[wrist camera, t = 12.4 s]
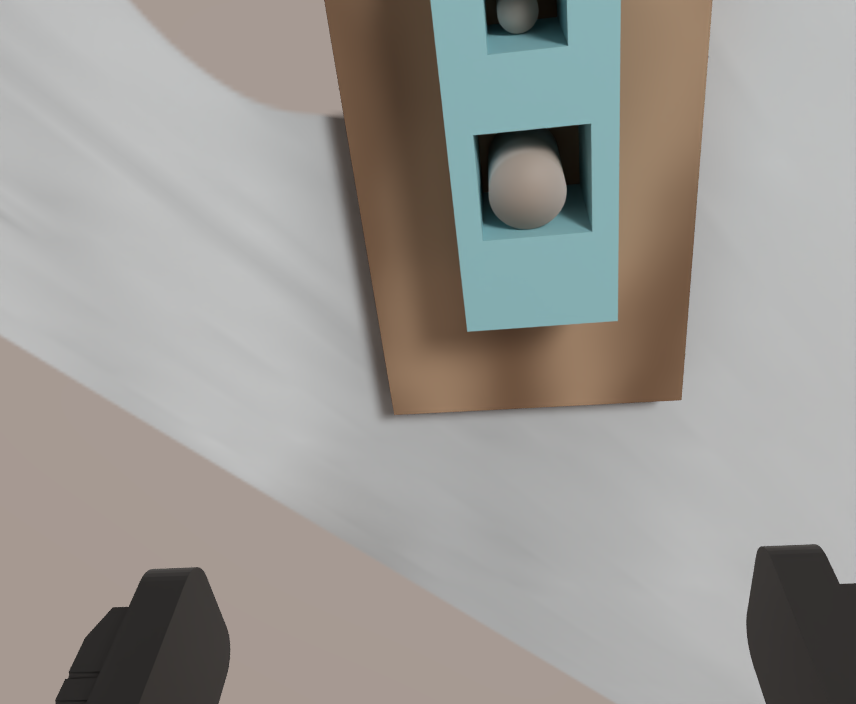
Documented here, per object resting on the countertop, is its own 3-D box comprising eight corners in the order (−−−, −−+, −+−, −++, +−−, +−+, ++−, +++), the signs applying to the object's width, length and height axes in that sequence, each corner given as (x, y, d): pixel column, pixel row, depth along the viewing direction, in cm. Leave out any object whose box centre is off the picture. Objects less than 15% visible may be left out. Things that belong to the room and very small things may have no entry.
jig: (397, 394, 35) (385, 469, 31) (299, -206, 23) (259, -213, 19) (674, 379, 34) (700, 455, 30) (719, -265, 22) (773, -287, 18)
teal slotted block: (469, 276, 30) (467, 331, 27) (428, -118, 23) (418, -109, 20) (603, 265, 30) (617, 321, 26) (601, -142, 23) (622, -137, 19)
